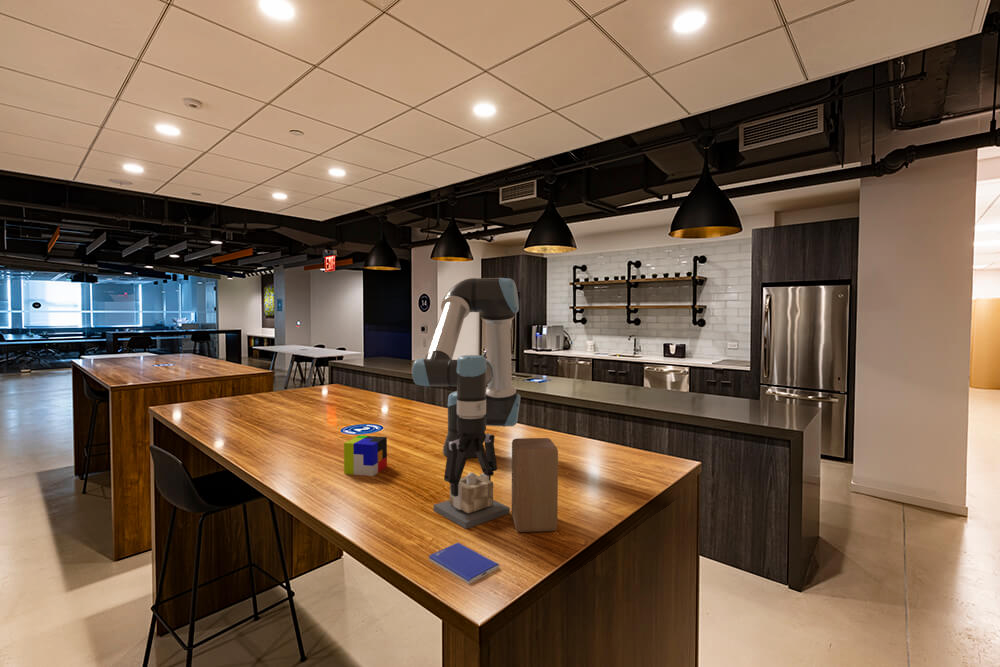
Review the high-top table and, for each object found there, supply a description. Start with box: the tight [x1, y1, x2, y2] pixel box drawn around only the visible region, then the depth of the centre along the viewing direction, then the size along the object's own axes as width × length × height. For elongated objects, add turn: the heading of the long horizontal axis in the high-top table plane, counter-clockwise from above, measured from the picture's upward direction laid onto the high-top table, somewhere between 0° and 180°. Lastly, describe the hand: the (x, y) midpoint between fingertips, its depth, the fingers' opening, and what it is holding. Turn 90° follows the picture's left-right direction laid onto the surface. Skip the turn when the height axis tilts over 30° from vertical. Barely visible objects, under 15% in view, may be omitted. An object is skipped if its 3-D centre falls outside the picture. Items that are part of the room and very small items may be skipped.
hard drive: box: [428, 542, 500, 585], centre depth 96 cm, size 2×8×12 cm
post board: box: [432, 472, 511, 530], centre depth 121 cm, size 14×14×10 cm
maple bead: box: [449, 474, 494, 513], centre depth 122 cm, size 8×8×6 cm
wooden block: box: [511, 437, 559, 533], centre depth 114 cm, size 10×10×20 cm
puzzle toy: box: [343, 434, 388, 477], centre depth 155 cm, size 10×10×10 cm
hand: (471, 503), depth 122 cm, fingers closed on maple bead, 8 cm apart
